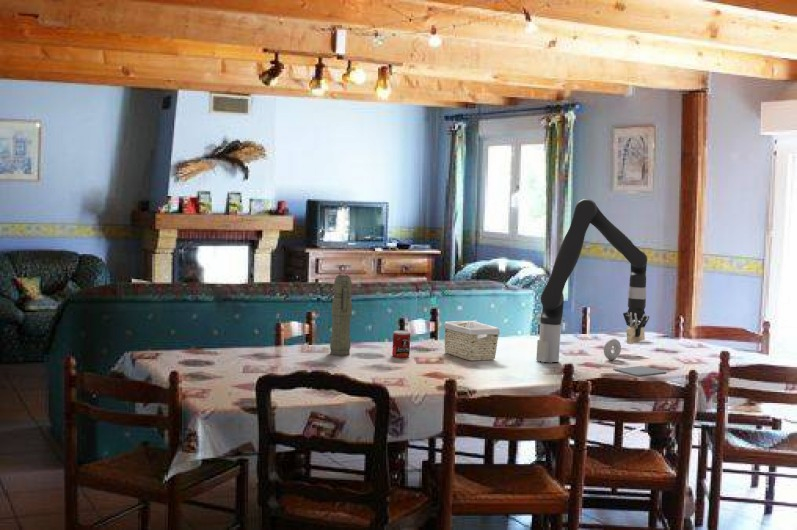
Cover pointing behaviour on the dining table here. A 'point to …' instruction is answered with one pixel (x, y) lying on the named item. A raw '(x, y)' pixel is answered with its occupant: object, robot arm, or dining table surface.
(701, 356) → the dining table surface
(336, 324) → the grey-green tall rounded block
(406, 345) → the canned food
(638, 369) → the mat
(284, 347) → the dining table surface
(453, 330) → the storage basket
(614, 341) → the donut
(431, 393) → the dining table surface
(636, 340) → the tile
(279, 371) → the dining table surface
